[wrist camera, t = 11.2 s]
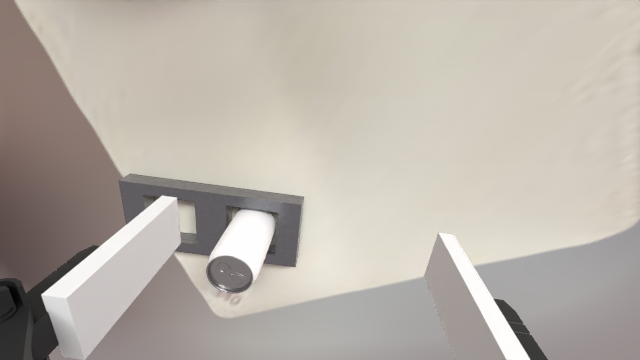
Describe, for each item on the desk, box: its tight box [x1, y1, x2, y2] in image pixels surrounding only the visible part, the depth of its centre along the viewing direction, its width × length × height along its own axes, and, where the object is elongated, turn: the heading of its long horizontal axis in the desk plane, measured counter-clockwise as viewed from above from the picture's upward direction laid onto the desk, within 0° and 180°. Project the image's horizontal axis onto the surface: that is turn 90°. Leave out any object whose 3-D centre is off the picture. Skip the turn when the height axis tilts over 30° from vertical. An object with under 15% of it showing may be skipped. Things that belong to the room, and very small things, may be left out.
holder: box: [119, 174, 304, 267], centre depth 45 cm, size 11×26×2 cm, turn 83°
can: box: [206, 208, 276, 293], centre depth 41 cm, size 6×6×12 cm
